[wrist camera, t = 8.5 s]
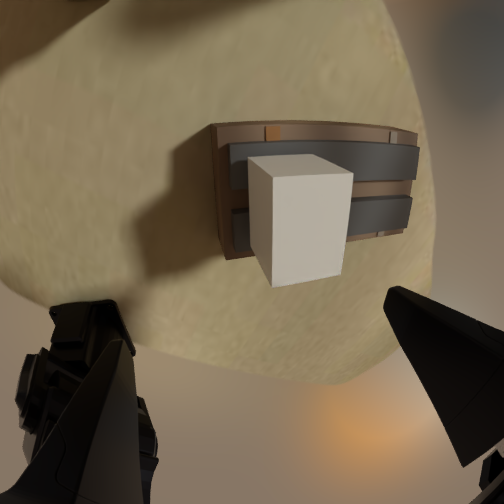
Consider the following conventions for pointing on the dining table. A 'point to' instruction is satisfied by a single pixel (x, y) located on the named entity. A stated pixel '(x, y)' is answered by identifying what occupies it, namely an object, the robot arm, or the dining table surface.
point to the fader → (298, 216)
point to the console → (328, 148)
